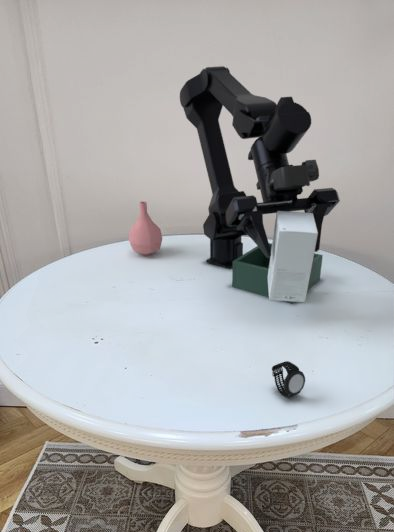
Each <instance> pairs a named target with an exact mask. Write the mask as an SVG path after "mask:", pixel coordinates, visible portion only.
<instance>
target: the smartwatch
mask: <svg viewBox="0 0 394 532" xmlns="http://www.w3.org/2000/svg"><path fill="white" fill-rule="evenodd" d="M283 368H284V369H285V371H286V376H285V378H284V369H283ZM271 375H272V377H274V383H275V386H276V388H277V391H278V392H279V394H280V395H281V396H283V397H285V398H288V399H290V398H293V397H295V396H297V395H299V394H301V391H302V390H303V389H304V386H305V384H306V376H305V374H304V372H303V371H301V370H300V368H299V366H297V365H296V364H294V363H292V362H291V361H289V360H286V361H283V362H280V363H277V364H274V365H273V366H272V367H271Z"/></svg>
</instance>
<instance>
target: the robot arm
mask: <svg viewBox="0 0 394 532" xmlns="http://www.w3.org/2000/svg"><path fill="white" fill-rule="evenodd" d="M179 103H180V105H181V107H182V109H183V112H184V114H185V117H186V119H187V120H188V121H189V123H191V125H192V126H194V128H196V131H197V136H198V140H199V144H200V147H201V153H202V155H203V160H204V165H205V168H206V172H207V173H206V174H207V177H208V181H209V185H210V190H211V194H212V195H211V199H210V202H209V205H208V216H207V218H206V219H205V220H204V223H202V228H203V234H204V235H205V237H207V238H208V239H209V258H207V259H206V260H205V262H206V264H211V265H215V266H218V267H222V268H225V269H233V261H234V260H236V259H237V258H239V257H240V256H242V255H244V254H243V253H244V242H242V237H243V236H248V237H249V238H250V239H251V240H252V241H253V242H254V244H255V245H256V246H258V247H259V248H260V250H261V251H262V252H263V253H264V255H265V256H266V257H267V258H269V257H270V256H271V251H270V246H269V243H270V242H269V239H268V236H267V232H266V229H265V225H264V215H268V214H269V215H270V214H276V213H277V211H289V212H300V211H303V213H313V215H314V219H315V223H316V227H317V231H318V237H317V242H316V247H315V252H314V253H317V252H319V250H320V246H321V238H322V237H321V235H322V228H323V227H322V226H323V222H324V218H325V217H326V216H328V215H329V214H330V213H331V211H333V209H335V208H336V207H337V205H338V204H339V203H340V201H341V200H340V197H339V192H338V191H337V190H336V189H335V188H334V187H326V188H325V187H324V188H316V189H315V188H314V189H313V191H311V193H310V194H309V196H308V197H302V198H298V196H300V195H301V194H302V193H303V192H304V190H303V188H304V187H310V186H311V182H315V181H317V180H319V178H320V169H319V165H318V162H317V159H306V160H305V161H302V162H301V164H299V165H297V164H296V165H294V164H290V163H289V159H288V155H287V154H290V153H291V152H293V150H294V149H295V148H296V146H297V145H298V144H299V143H300V141H301V140H302V139H303V137H304V136H305V135H306V133H307V132H308V131H309V129H310V128H311V126H312V116H311V114H310V112H309V111H308V110H307V109H306V108H305V107H304V106H303V105H302V104H300V103H297V102H295V101H294V98H293V96H281V97H280V98H279V100H278V101H277V103H276V102H275V100H272V99H269V98H267V97H265V96H260V95H256V94H253V93H252V92H251V91H249V89H247V88H246V87H245V86H244V85H243V84H242V83H241V82H240V81H239V80H238V79H237V78H236V77H234V75H232V74H231V72H230V69H229V68H228V67H226V66H224V65H221V66H220V65H219V66H207V67H205V68H202V69H201V71H200V72H199V73H198V74H197V75H195V76H193V77H191V78H190V79H187V81H186V82H185V83H184V85H183V86H182V87H181V89H180V91H179ZM223 108H225V109H226V111H227V112H228V113H230V114H231V116H232V122H231V125H232V127H233V129H234V131H235V132H236V134H237V135H238V136H239V139H242V140H248V139H255V140H254V141H253V143H252V144H251V147H250V149H249V152H248V154H247V160H248V161H253V165H254V169H255V173H256V178H257V182H256V184H255V185H256V190H259V191H260V196H261V200H262V202H258V200H257V197H256V196H255V195H252V194H251V195H247V193H245V191H244V190H238V189H237V188H236V187H235V184H234V180H233V174H232V171H231V167H230V162H229V159H228V154H227V149H226V146H225V142H224V141H225V140H224V138H223V132H222V130H221V126H220V120H219V119H220V117H221V113H222V110H223Z"/></svg>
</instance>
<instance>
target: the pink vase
mask: <svg viewBox="0 0 394 532" xmlns="http://www.w3.org/2000/svg"><path fill="white" fill-rule="evenodd" d="M128 242H129V244H130V247H131V250H132V251H133V252H134V253H137V254H142V256H150V255H152V254H153V253H156V252H158V251H159V250H161V246H162V242H163V235H162V230H161V228H160V227H159V226H158V224H157V223H155V222H154V221H153V220H152V218H151V216H150V215H149V213H148V203H147V201H140V202H139V215H138V217H137V220H136V222H134V224H133V226H132V227H131V228H130V229H129V235H128Z"/></svg>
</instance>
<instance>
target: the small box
mask: <svg viewBox="0 0 394 532" xmlns="http://www.w3.org/2000/svg"><path fill="white" fill-rule="evenodd" d="M273 228H274V229H273V234H272V235H273V236H272V237H273V238H272V243H271V244H272V249H271V256H270V264H269V270H268V291H269V297H268V299H269V301H278V302H279V301H280V302H284V301H293V302H294V303H295V302H296V303H305V302H306V300H307V295H308V291H309V290H308V284H309V279H310V273H311V268H312V263H313V258H314V253H316V252H315V247H316V242H317V237H318V231H317V227H316V223H315V219H314V215H313V213H305V212H304V211H303V212H302V211H301V212H300V211H277V213H275V222H274V227H273ZM307 290H308V291H307Z"/></svg>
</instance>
